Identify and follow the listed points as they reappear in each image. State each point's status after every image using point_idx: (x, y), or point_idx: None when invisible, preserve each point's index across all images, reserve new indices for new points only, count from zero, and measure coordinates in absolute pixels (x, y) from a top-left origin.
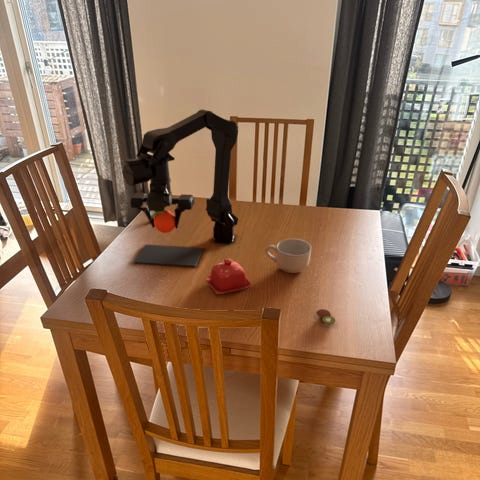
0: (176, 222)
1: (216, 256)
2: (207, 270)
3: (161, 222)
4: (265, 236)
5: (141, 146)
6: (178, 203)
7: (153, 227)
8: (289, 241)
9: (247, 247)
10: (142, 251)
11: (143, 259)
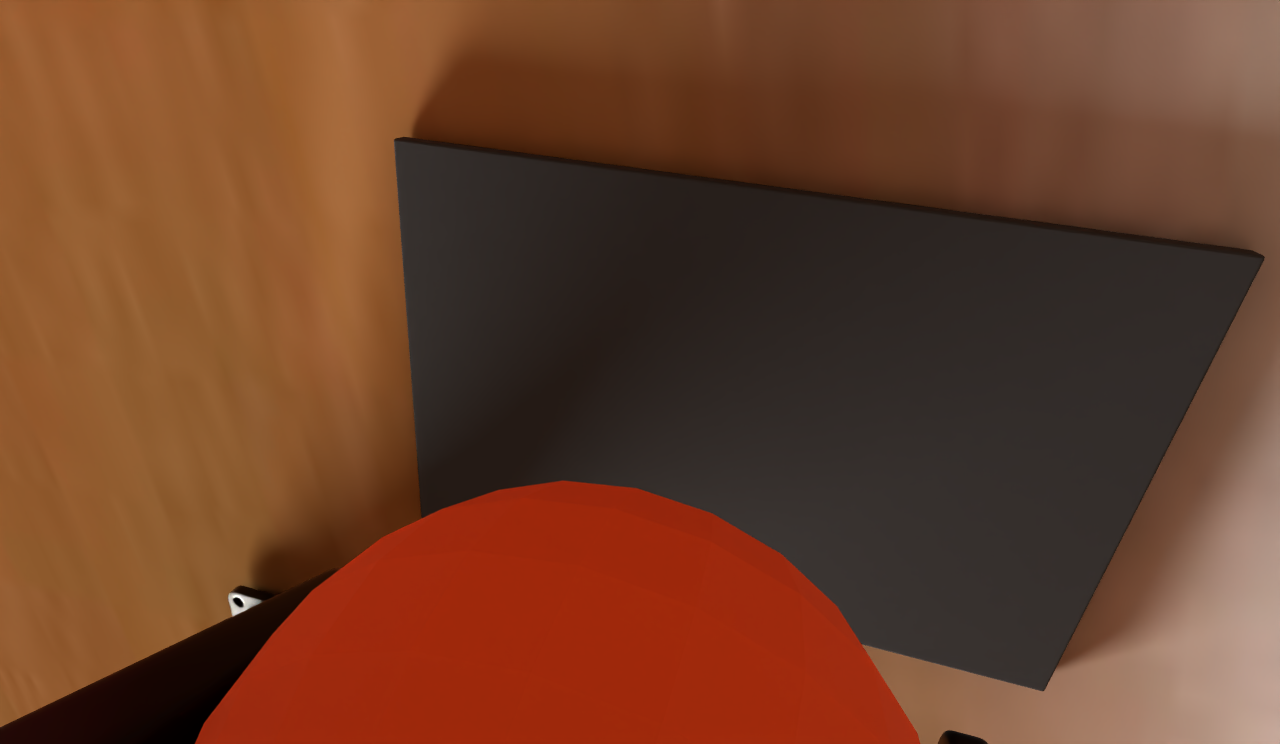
0: (171, 678)
1: (280, 375)
2: (262, 55)
3: (554, 709)
4: (79, 639)
5: None
6: None
7: (963, 734)
8: None
9: (116, 505)
10: (1100, 550)
11: (1097, 330)
